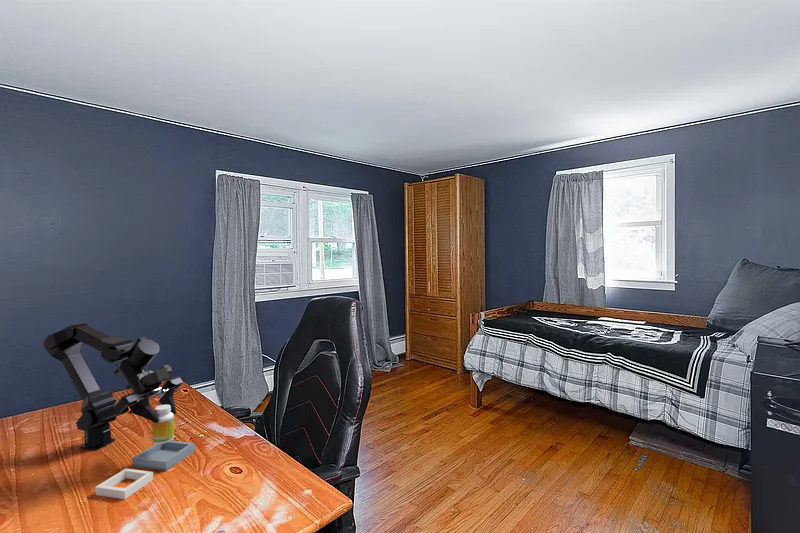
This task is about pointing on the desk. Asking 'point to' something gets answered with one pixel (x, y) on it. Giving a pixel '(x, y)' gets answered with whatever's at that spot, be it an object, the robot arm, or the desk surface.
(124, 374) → the robot arm
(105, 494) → the holder collar
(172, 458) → the tray
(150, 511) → the desk surface
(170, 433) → the supplement bottle
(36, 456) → the desk surface
